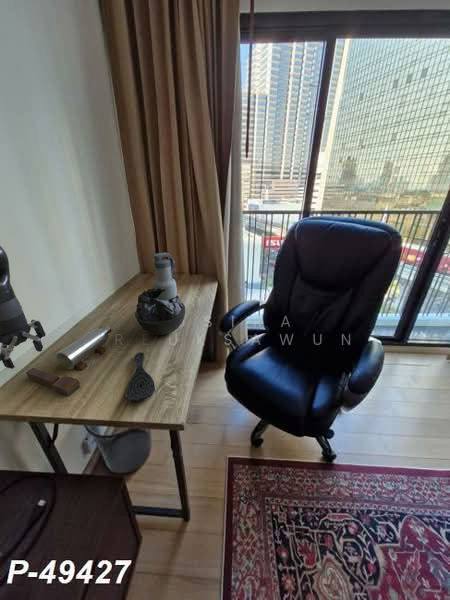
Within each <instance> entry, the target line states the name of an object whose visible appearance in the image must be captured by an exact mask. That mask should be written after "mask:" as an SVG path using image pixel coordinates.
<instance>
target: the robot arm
mask: <svg viewBox="0 0 450 600" xmlns="http://www.w3.org/2000/svg"><path fill="white" fill-rule="evenodd" d="M9 262H10V261H9V257H8V254H7V252H6V251H5V249H4V248H3V247H2V246H1V245H0V344H1V346H0V362H2V364H3V366H4V367H5V368H7V369H11V370H13V369H14V368H16V366H15V364H14V362H13V360H12V358H11V357H10V356H11V353H12V352H13V351H14V348H15V347H17V346H20V344H22V343H25V342H27V340H28V339H30V340H32V344H33V346H34V349H35V351H36V352H38V353H39V352H40V353H42V352H43V349H44V346H43V343H42V341H41V340H42V339H43V338H44V337H46V332H45V329H44V328H43V325H42V323H41V321H40V320H36V319H32V320H30V322H29V323H28V319H27V318H26V315H25V313H24V310H23V307H22V305H21V303H20V301H19V299H18V298H17V297H18V296H17V295H16V293H15V290H14V288H13V286H12V284H11V272H10V263H9ZM31 329H33V330H34V332H35V335H34V334H31V333H30V332H31Z"/></svg>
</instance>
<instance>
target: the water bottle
mask: <svg viewBox="0 0 450 600" xmlns="http://www.w3.org/2000/svg"><path fill="white" fill-rule="evenodd" d="M153 259H154V262H153V264H154V270H155V273H156V280H155V281H154V283H153V284H154V285H153V286H154V288H155V289H157V288H161V289H166V291H164V292H162V293H161V294H160V295H159V297H158V298H157V299H159V300H164V299H170V298H174V297H176V296H177V295H178V290H177V281H176V280H175V279H177V277H178V275H177V268H176V267H175V263H176V259H175V258H174V256H173V255H171V254H169V253H168V252H158V253H154V254H153ZM173 272H174V274H173Z"/></svg>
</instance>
